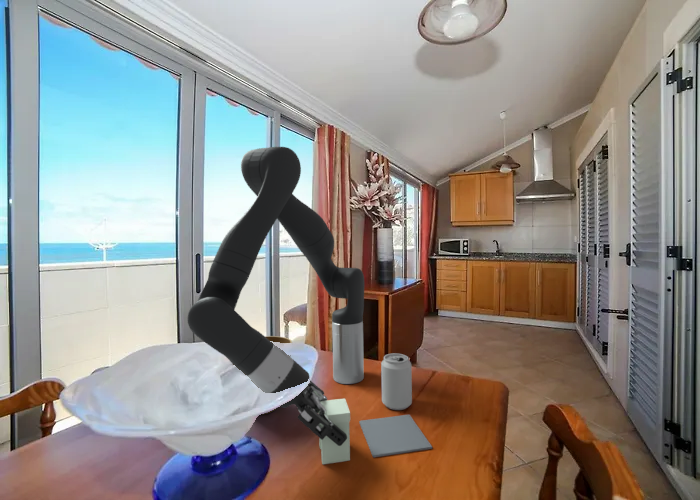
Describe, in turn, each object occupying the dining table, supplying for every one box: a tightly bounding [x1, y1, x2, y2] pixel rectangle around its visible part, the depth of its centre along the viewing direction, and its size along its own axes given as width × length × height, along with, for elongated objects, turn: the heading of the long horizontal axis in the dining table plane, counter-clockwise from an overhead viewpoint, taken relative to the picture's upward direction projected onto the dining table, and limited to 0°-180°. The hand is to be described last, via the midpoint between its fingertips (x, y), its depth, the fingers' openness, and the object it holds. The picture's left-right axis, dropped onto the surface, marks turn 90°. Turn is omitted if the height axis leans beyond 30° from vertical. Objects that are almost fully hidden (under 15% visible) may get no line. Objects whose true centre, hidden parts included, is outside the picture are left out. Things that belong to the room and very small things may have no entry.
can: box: [380, 352, 413, 411], centre depth 80 cm, size 8×8×12 cm
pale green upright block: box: [318, 398, 351, 465], centre depth 62 cm, size 6×6×9 cm
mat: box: [359, 414, 433, 458], centre depth 67 cm, size 12×12×1 cm
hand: (340, 427), depth 62 cm, fingers open, 8 cm apart
